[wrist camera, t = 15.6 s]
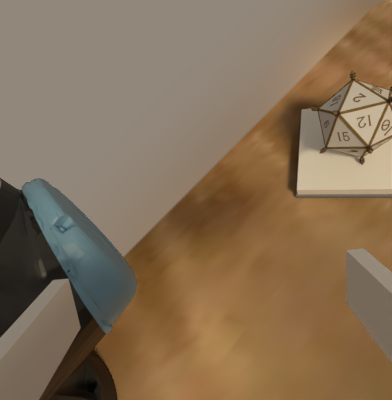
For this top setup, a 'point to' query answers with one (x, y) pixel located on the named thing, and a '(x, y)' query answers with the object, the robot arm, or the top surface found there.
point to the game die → (356, 119)
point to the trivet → (339, 167)
